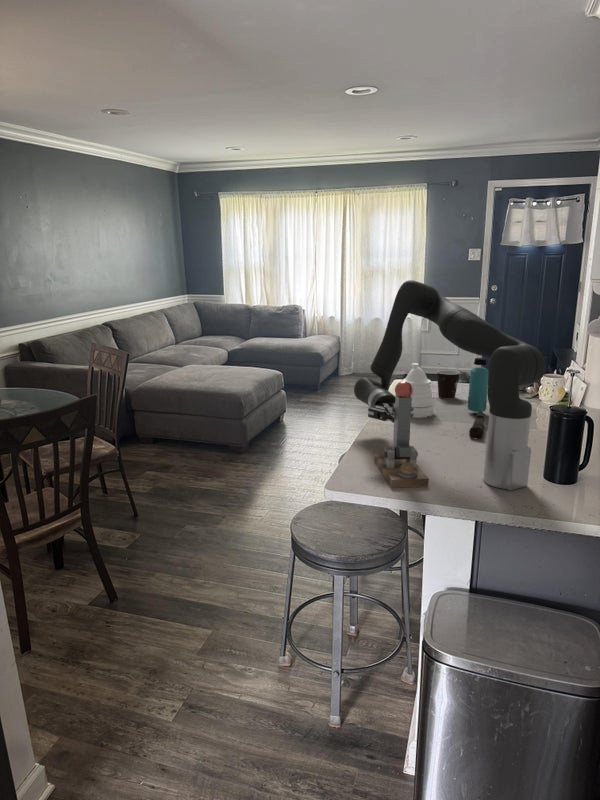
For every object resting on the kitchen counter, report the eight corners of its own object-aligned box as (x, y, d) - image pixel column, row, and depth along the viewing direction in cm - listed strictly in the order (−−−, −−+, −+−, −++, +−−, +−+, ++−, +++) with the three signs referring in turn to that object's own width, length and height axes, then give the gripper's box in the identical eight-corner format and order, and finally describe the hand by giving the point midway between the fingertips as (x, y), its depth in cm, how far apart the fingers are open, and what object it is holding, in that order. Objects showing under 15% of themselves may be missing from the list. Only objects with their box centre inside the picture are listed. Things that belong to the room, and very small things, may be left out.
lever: (389, 456, 138) (393, 379, 133) (406, 455, 138) (410, 379, 134) (396, 465, 132) (400, 385, 127) (413, 464, 132) (418, 384, 127)
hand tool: (482, 440, 164) (483, 425, 162) (468, 438, 165) (469, 424, 164) (488, 424, 180) (490, 411, 179) (476, 423, 182) (477, 409, 181)
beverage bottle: (489, 415, 191) (495, 359, 186) (474, 417, 188) (479, 360, 184) (477, 410, 197) (482, 356, 192) (462, 412, 194) (466, 357, 190)
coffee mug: (445, 393, 223) (447, 369, 221) (462, 397, 216) (464, 373, 214) (425, 397, 217) (427, 372, 215) (442, 401, 210) (444, 376, 208)
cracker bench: (374, 461, 145) (375, 438, 144) (407, 460, 146) (408, 437, 144) (390, 487, 128) (392, 461, 126) (428, 486, 129) (429, 460, 127)
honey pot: (424, 419, 185) (427, 367, 181) (390, 413, 192) (392, 363, 188) (438, 411, 196) (441, 362, 191) (405, 406, 203) (408, 358, 198)
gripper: (360, 391, 152) (374, 407, 135) (407, 390, 153) (426, 406, 136) (359, 417, 153) (373, 435, 137) (405, 416, 154) (424, 434, 138)
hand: (399, 420), depth 136 cm, fingers closed
